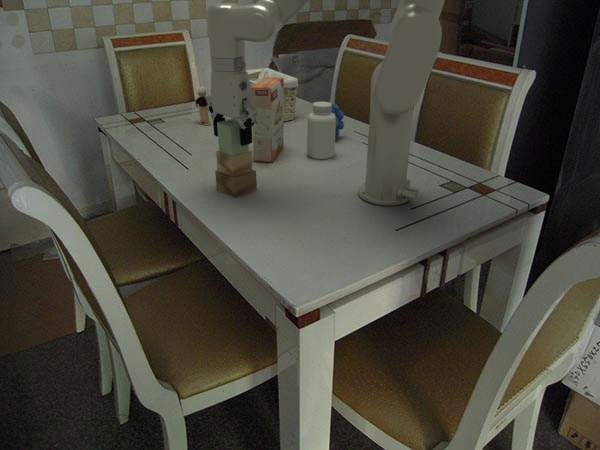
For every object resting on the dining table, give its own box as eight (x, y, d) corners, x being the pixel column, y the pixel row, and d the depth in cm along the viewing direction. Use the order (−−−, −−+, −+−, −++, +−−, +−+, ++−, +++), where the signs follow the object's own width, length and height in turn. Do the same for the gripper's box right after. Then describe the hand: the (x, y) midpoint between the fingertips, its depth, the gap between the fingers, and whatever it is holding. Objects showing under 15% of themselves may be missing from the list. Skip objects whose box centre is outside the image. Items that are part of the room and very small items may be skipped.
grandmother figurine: (216, 124, 175) (213, 86, 169) (209, 126, 172) (206, 89, 166) (200, 120, 179) (196, 84, 173) (192, 123, 176) (188, 86, 170)
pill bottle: (326, 161, 142) (327, 108, 135) (301, 156, 146) (302, 104, 139) (339, 153, 148) (341, 102, 141) (315, 148, 152) (316, 98, 145)
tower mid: (252, 170, 123) (251, 151, 121) (232, 177, 120) (231, 157, 117) (237, 164, 127) (235, 145, 125) (217, 170, 123) (216, 151, 121)
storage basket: (230, 111, 190) (228, 70, 183) (269, 105, 197) (268, 66, 190) (258, 127, 172) (256, 83, 165) (300, 121, 179) (300, 78, 172)
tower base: (256, 189, 126) (256, 170, 123) (234, 198, 121) (233, 178, 119) (238, 182, 130) (237, 163, 128) (216, 189, 125) (215, 171, 123)
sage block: (248, 151, 121) (247, 122, 118) (232, 156, 118) (230, 127, 114) (235, 146, 124) (234, 118, 121) (219, 151, 121) (216, 122, 118)
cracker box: (274, 163, 141) (272, 87, 132) (253, 162, 142) (249, 86, 133) (285, 147, 153) (284, 76, 144) (266, 146, 154) (263, 75, 145)
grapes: (321, 146, 154) (322, 107, 148) (309, 140, 159) (309, 102, 153) (351, 139, 160) (353, 101, 154) (338, 134, 165) (339, 97, 159)
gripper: (267, 67, 108) (269, 144, 116) (218, 57, 119) (223, 128, 127) (240, 72, 104) (244, 152, 112) (191, 61, 114) (198, 135, 122)
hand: (233, 139), depth 119 cm, fingers open, 9 cm apart
